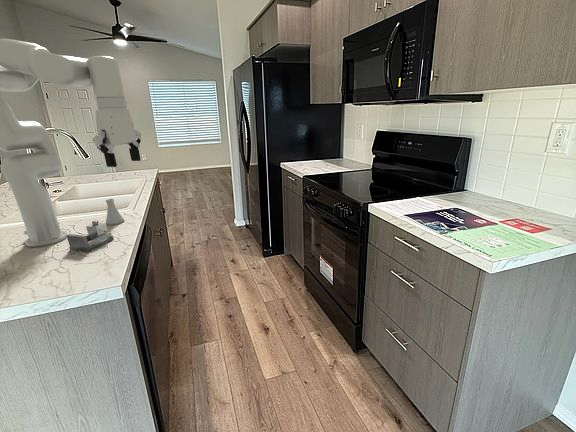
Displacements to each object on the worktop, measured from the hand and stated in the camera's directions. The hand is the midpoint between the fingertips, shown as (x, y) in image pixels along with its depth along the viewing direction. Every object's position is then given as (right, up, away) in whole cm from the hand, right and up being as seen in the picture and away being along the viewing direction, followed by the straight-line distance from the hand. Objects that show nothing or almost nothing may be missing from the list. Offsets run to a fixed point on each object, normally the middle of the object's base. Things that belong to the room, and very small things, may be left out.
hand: (124, 163), depth 95 cm
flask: (-23, -19, +36) cm, 47 cm away
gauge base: (-19, -26, +15) cm, 36 cm away
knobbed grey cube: (-18, -24, +17) cm, 34 cm away
